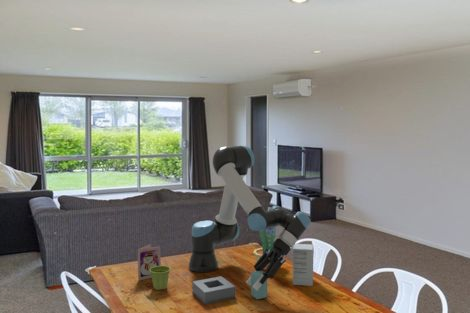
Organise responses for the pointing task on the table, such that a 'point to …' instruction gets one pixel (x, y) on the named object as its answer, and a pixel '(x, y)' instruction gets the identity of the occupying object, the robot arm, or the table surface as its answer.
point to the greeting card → (148, 260)
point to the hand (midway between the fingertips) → (251, 286)
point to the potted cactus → (265, 242)
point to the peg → (263, 289)
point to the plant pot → (160, 276)
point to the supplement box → (303, 264)
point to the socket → (213, 290)
